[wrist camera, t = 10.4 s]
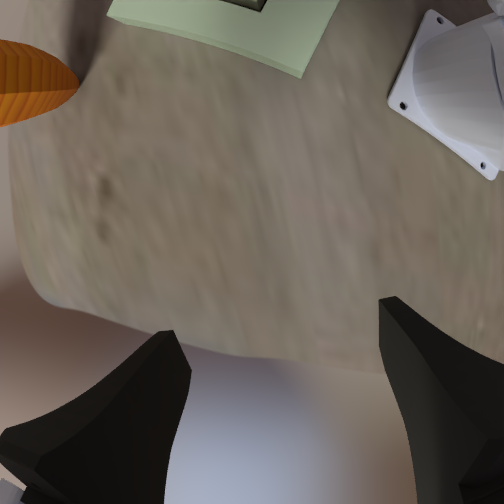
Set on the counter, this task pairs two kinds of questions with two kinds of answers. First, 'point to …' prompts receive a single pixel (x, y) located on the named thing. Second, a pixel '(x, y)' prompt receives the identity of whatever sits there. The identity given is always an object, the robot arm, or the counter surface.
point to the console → (238, 26)
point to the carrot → (31, 82)
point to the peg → (249, 3)
